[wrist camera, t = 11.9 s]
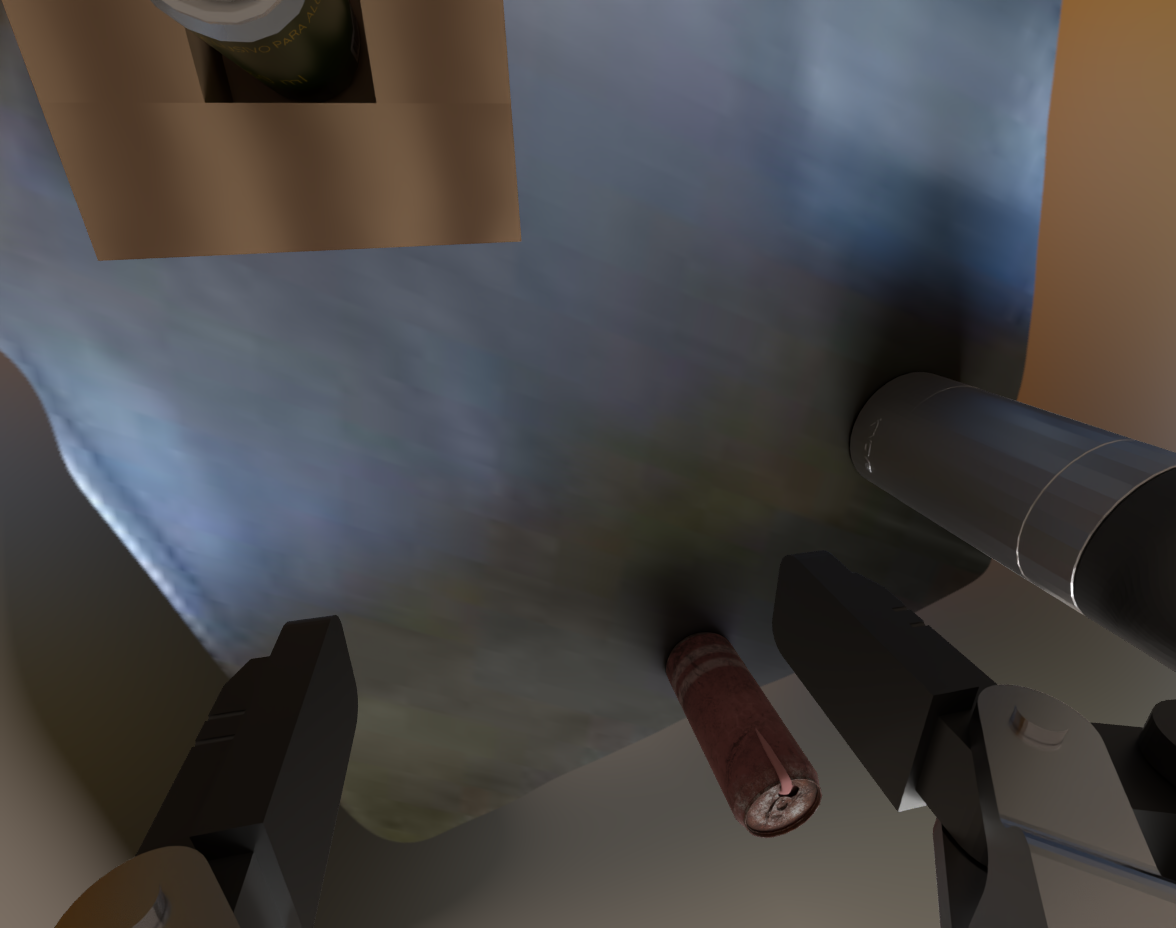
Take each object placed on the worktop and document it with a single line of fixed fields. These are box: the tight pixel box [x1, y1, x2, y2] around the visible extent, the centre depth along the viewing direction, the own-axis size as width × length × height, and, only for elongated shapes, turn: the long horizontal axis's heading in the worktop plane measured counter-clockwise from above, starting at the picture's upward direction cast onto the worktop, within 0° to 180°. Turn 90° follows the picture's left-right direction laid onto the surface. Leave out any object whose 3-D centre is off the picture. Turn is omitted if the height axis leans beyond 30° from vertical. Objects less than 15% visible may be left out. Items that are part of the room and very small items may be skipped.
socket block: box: [2, 0, 521, 261], centre depth 24 cm, size 18×18×5 cm
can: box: [666, 632, 822, 838], centre depth 42 cm, size 6×6×14 cm
